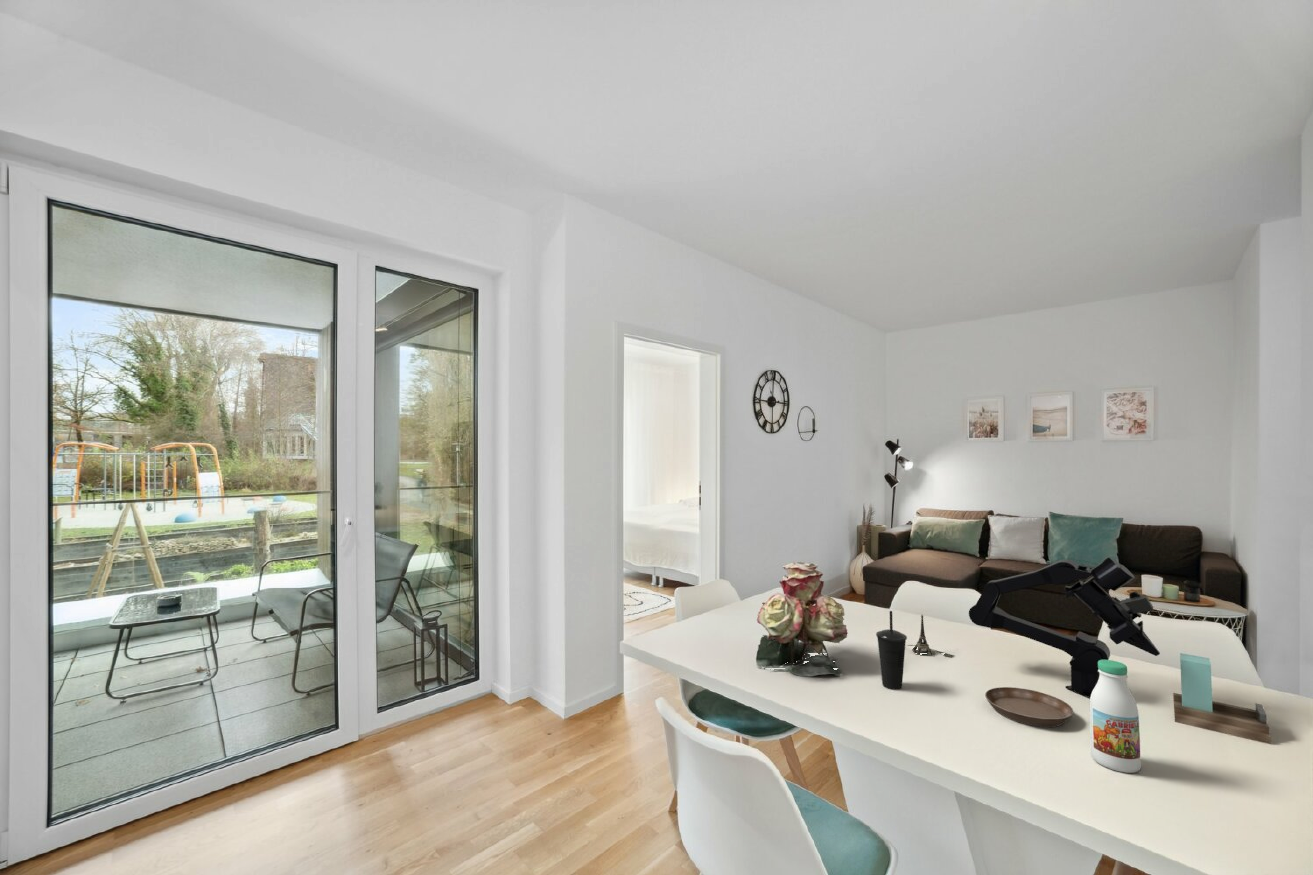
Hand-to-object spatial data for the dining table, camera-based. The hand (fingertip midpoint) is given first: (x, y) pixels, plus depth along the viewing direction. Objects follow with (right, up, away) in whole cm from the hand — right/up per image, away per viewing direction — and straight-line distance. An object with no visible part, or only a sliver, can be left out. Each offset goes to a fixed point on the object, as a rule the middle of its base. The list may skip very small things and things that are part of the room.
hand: (1158, 654), depth 135 cm
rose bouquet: (-79, -15, +31) cm, 86 cm away
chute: (+8, -13, -7) cm, 17 cm away
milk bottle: (-31, -13, -24) cm, 41 cm away
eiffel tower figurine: (-39, -15, +38) cm, 57 cm away
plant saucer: (-34, -14, -2) cm, 36 cm away
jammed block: (+5, -11, -5) cm, 13 cm away
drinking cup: (-60, -14, +13) cm, 63 cm away
